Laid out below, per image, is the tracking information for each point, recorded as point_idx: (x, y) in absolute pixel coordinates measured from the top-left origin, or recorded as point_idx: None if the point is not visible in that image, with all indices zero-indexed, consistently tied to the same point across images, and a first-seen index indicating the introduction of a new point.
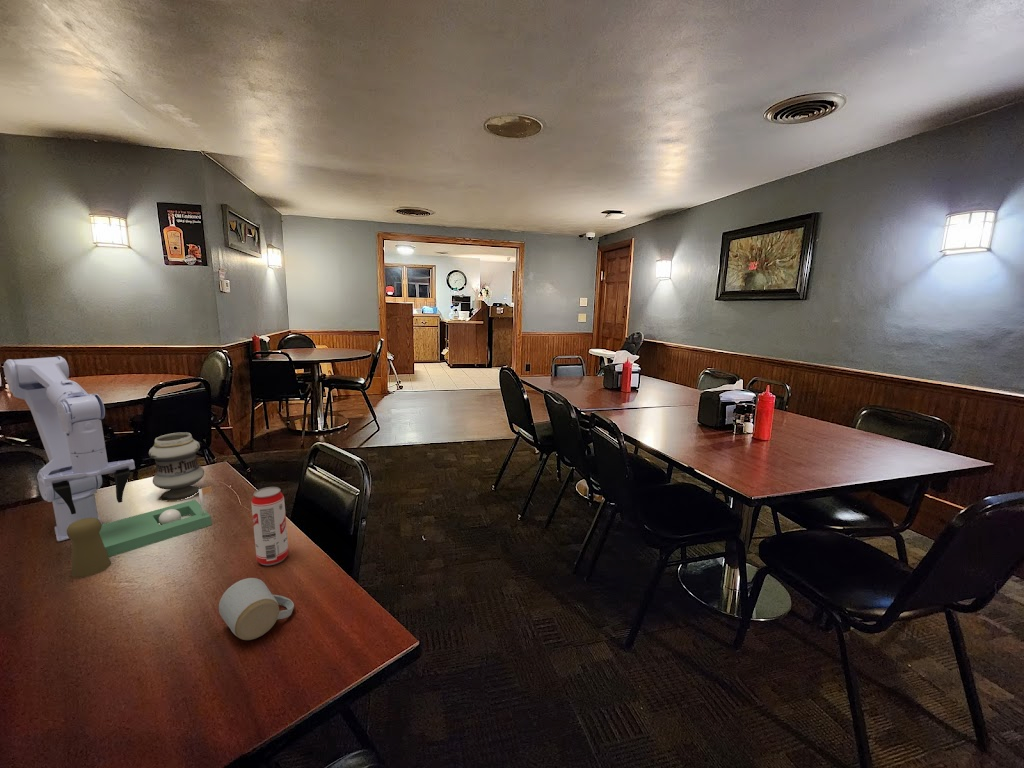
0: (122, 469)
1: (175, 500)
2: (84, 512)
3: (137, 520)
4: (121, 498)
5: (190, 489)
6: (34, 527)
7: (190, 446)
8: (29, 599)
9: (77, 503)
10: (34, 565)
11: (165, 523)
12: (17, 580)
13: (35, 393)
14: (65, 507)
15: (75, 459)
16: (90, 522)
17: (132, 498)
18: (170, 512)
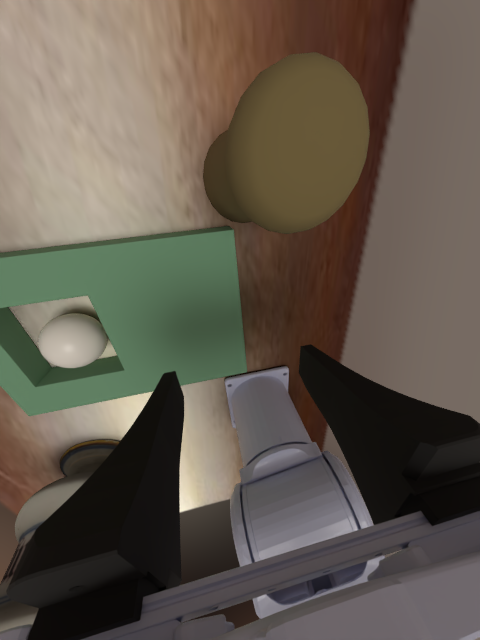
0: (81, 635)
1: (107, 441)
2: (258, 414)
3: (157, 360)
4: (159, 382)
5: (77, 470)
6: (304, 426)
7: None
8: (364, 90)
9: (275, 437)
10: (324, 292)
11: (83, 317)
12: (355, 240)
13: None
14: (295, 430)
15: None
16: (284, 91)
17: (188, 468)
18: (54, 343)
